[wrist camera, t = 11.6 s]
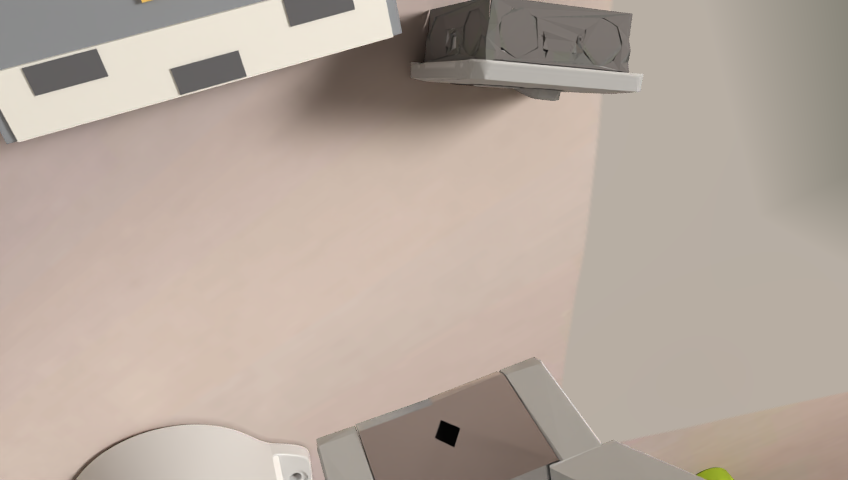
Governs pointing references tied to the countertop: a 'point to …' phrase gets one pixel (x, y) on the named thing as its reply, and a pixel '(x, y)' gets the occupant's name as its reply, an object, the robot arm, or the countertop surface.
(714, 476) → the soap dispenser
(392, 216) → the countertop surface
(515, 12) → the electrical switch
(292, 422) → the countertop surface
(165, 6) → the switch unit
